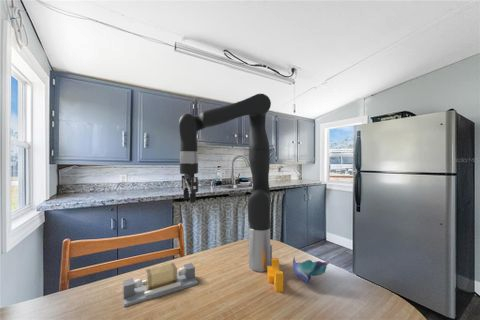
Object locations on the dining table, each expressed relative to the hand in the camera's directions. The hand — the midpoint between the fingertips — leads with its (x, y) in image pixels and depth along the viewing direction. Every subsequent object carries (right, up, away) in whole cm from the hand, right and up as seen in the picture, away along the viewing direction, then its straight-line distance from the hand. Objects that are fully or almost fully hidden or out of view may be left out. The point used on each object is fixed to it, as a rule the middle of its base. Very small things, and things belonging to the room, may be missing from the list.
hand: (189, 200), depth 88 cm
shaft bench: (-7, -29, -12) cm, 32 cm away
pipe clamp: (+35, -30, -8) cm, 46 cm away
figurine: (+47, -30, -8) cm, 57 cm away
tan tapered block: (-7, -28, -12) cm, 31 cm away
